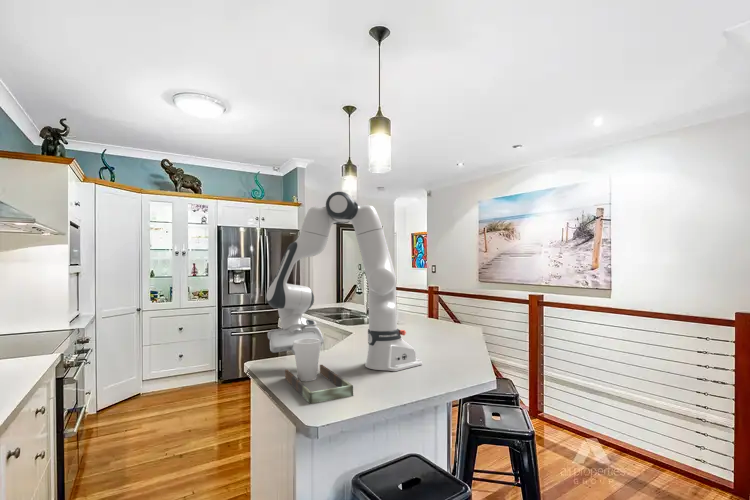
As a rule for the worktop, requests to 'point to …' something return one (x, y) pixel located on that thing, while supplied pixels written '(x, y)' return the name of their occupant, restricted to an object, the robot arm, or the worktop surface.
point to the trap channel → (322, 395)
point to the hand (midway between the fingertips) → (300, 358)
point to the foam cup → (307, 358)
